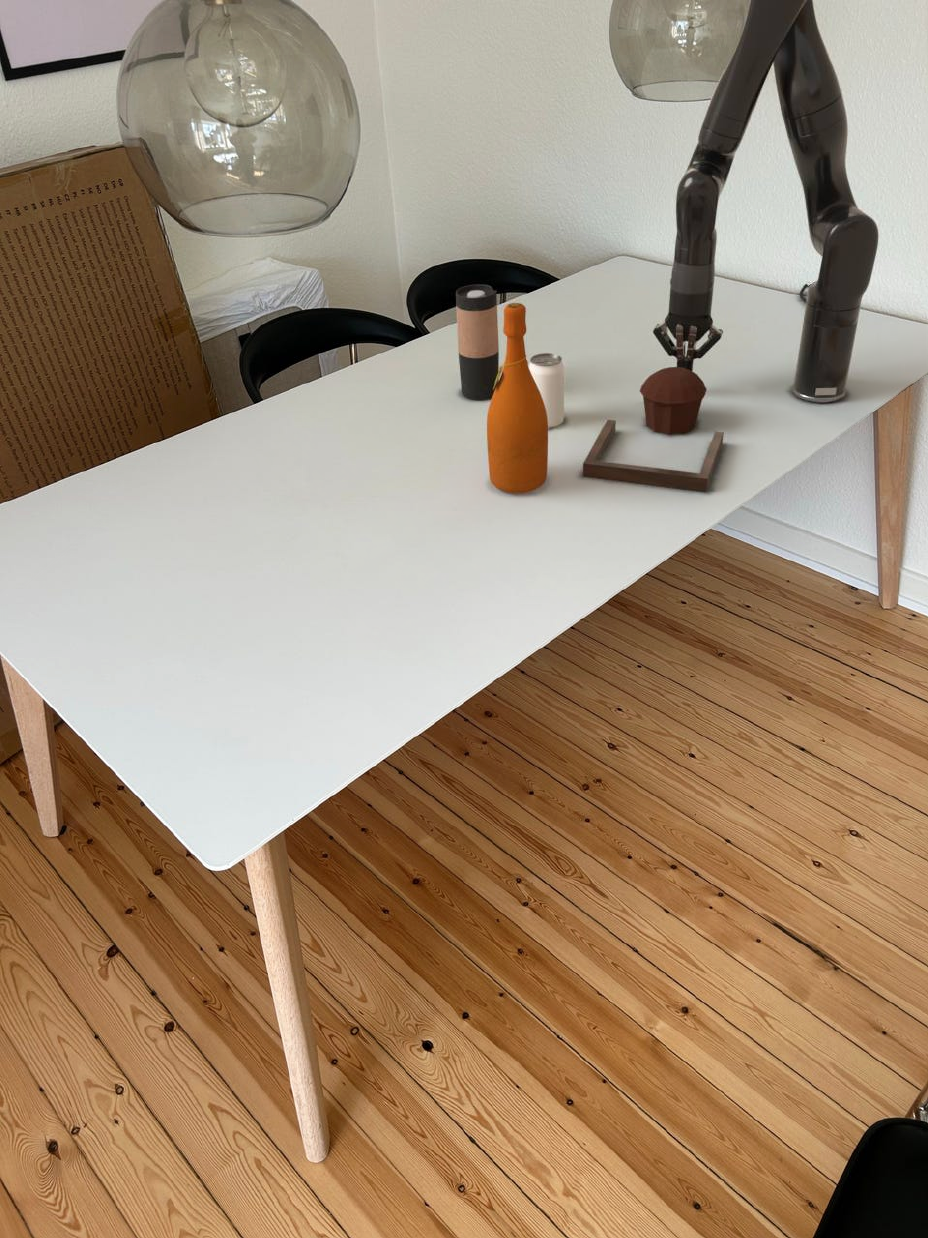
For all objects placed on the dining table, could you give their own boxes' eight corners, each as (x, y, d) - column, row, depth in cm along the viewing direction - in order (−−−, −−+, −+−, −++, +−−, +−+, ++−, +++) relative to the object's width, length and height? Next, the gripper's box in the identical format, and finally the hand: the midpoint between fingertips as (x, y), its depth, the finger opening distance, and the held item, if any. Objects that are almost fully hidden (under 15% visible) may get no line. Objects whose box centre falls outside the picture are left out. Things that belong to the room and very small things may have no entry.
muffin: (681, 405, 190) (685, 353, 184) (716, 428, 181) (721, 375, 175) (626, 419, 186) (628, 367, 180) (658, 443, 178) (662, 389, 172)
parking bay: (607, 432, 182) (607, 419, 181) (722, 445, 176) (724, 432, 175) (582, 476, 170) (583, 463, 168) (706, 492, 164) (707, 478, 162)
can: (561, 429, 184) (561, 366, 177) (526, 428, 185) (525, 365, 178) (565, 414, 189) (566, 352, 182) (531, 413, 190) (530, 351, 183)
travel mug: (454, 398, 197) (448, 296, 185) (469, 382, 203) (464, 282, 191) (491, 403, 195) (488, 299, 183) (505, 387, 200) (502, 285, 188)
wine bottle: (517, 462, 175) (513, 288, 157) (560, 480, 169) (561, 301, 151) (476, 483, 170) (468, 306, 152) (520, 503, 164) (516, 321, 146)
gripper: (733, 280, 181) (722, 373, 192) (659, 275, 185) (652, 366, 196) (726, 295, 176) (716, 389, 186) (650, 289, 180) (644, 381, 190)
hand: (683, 377), depth 191 cm, fingers closed
